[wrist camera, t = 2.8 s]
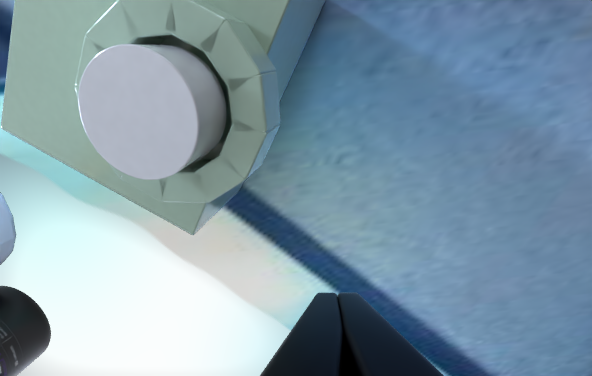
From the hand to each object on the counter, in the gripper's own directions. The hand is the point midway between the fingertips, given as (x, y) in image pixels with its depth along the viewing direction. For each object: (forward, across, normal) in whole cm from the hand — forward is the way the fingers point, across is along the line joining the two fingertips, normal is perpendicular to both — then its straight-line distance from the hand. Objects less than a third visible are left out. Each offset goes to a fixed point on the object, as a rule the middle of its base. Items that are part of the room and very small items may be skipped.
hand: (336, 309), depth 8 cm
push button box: (+14, -7, +3) cm, 16 cm away
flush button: (+7, -5, +3) cm, 9 cm away
